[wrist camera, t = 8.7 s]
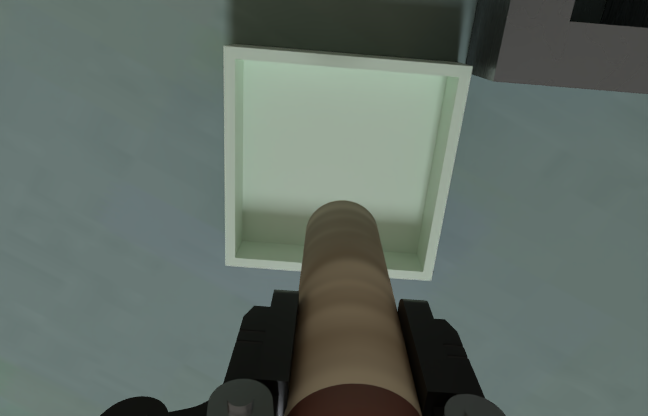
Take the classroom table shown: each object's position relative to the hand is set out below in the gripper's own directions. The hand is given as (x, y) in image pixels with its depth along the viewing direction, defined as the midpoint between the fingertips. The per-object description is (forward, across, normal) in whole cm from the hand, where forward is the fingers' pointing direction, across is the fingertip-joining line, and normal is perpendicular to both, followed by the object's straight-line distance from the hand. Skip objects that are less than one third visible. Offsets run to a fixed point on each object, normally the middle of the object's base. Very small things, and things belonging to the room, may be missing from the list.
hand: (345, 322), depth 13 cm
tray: (+17, 0, 0) cm, 17 cm away
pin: (+6, 0, 0) cm, 6 cm away
